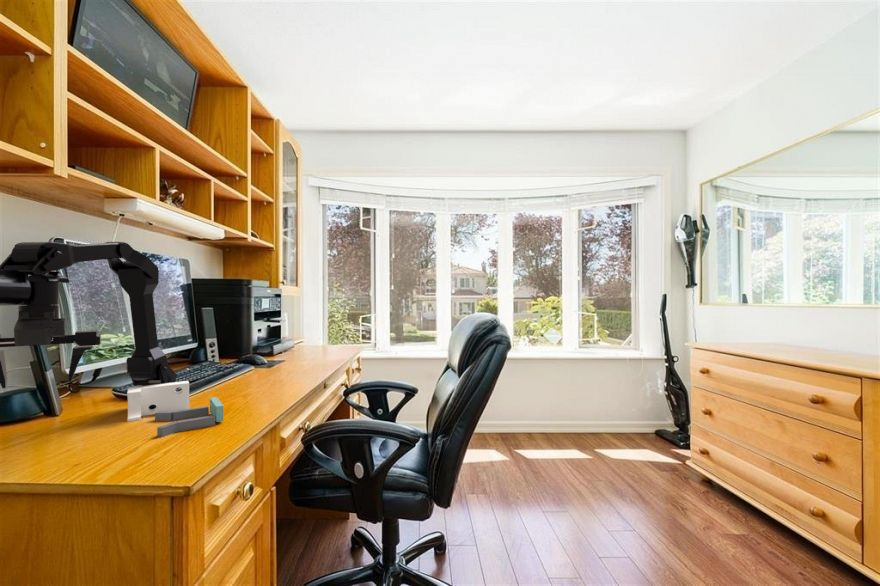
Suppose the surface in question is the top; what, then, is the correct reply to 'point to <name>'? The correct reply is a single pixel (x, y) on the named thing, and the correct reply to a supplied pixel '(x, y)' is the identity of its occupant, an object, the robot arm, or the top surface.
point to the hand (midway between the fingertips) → (38, 384)
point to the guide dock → (183, 424)
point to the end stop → (216, 409)
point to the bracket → (157, 399)
